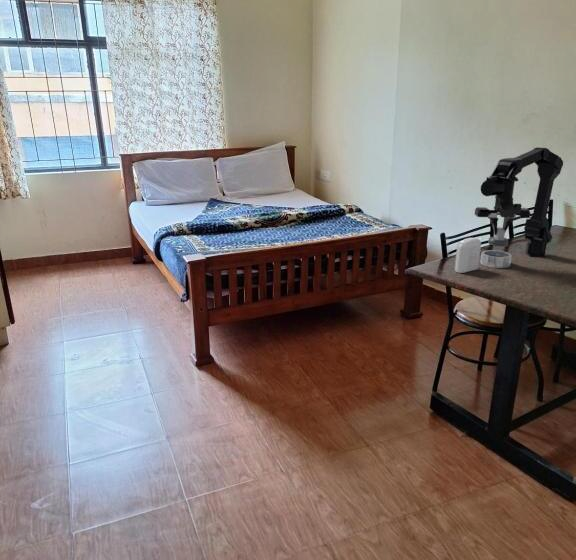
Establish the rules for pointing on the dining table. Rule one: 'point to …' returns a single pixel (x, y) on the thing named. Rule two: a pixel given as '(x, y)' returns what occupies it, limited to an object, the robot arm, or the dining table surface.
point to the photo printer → (467, 255)
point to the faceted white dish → (495, 259)
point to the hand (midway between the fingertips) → (499, 234)
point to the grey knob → (498, 238)
